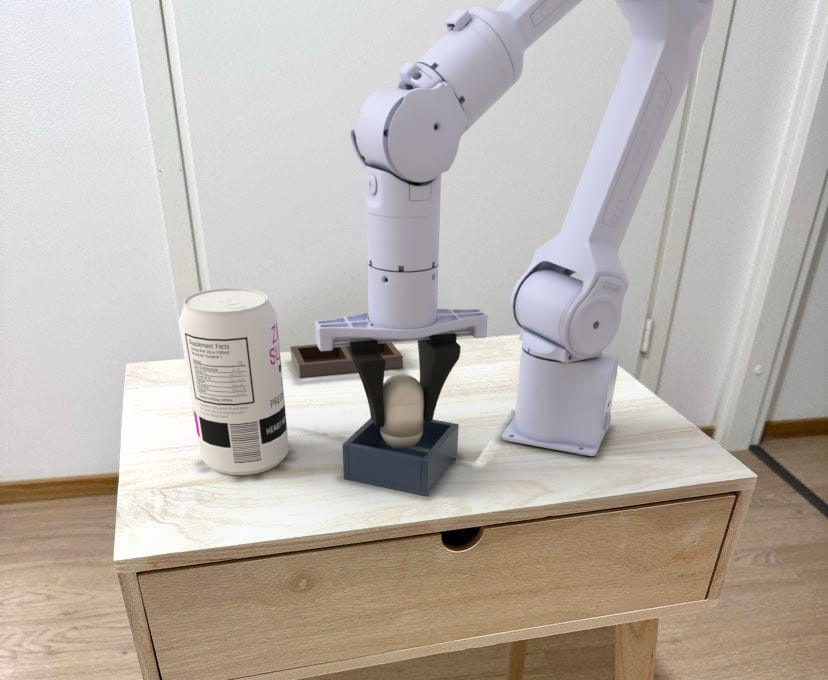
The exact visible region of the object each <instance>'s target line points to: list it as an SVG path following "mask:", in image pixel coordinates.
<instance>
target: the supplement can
mask: <svg viewBox="0 0 828 680" xmlns="http://www.w3.org/2000/svg"><path fill="white" fill-rule="evenodd" d="M182 302H183V308H182V311H181V313H180V317H179V319H178V327H179V332H180V338H181V344H182V349H183V357H184V363H185V369H186V375H187V382H188V387H189V392H190V399H191V404H192V411H193V418H194V424H195V428H196V435H197V441H198V447H199V452H200V453H199V454H200V458H201V459H202V460H203V463H204V464H206V465H208V466H210V467H211V469H213V470H214V471H217V472H218V473H220V474H221V473H222V474H226V475H230V476H249V475H250V476H251V475H256V474H260V473H263V472H267V471H270V470H271V469H273V468H275V467H277V466H279V465H280V463H281V462H282V461H283V460H284V459H285V457H286V456H287V455H288V454H289V436H288V434H289V433H288V425H287V411H286V404H285V403H286V401H285V392H284V390H285V389H284V381H283V379H284V378H283V369H282V359H281V358H282V357H281V347H280V337H279V336H280V335H279V326H278V325H279V324H278V315H277V312H276V310H275V308H274V307H273V305H272V303H271V302H270V301H269V296H268V295H267V294H265V292H262V291H260V290H256V289H251V288H245V287H222V288H221V287H220V288H219V287H218V288H213V289H212V288H211V289H205V290H200V291H198V292H195V293H191V294H190V295H188V296H187V297H185V298H184V300H183V301H182Z"/></svg>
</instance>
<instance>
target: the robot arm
mask: <svg viewBox="0 0 828 680" xmlns="http://www.w3.org/2000/svg"><path fill="white" fill-rule="evenodd" d="M582 1H583V0H503V1H502V2H501V3H500V4H499V5H498V6H497V7H496V9H493V8H489V7H486V6H481V5H479V6H474V7H472V8H470V9H469V10H467V9H461V10H460V9H459V10H458V9H457V10H455V11H454V12H453V13H452V14H451V15H450V16H449V17H448V18H447V19H446V20H445V27H446V28H447V32H446V33H444V35H443V36H441V38H440V39H438V41H436V42H435V44H434V45H432V46H431V47H430V48H429V50H428V51H426V53H424V54H423V55H422V56H421V57H420V58H419V59H418V60H417V61H416V62H407V61H406V63H405V64H404V65H403V66H402V67H401V68H400V69H399V70H398V75H399V77H400V78H399V80H398V84H397V87H392V86H391V87H390V86H388V87H386V88H385V87H383V88H379V89H378V90H375V91H374V92H373V93H371V94H370V95H369V96H368V97H366V99H365V100H364V102H363V103H362V105H361V107H360V108H359V111H358V113H359V116H358V117H356V121H355V128H354V129H351V130H350V132H349V134H350V142H351V146H352V149H353V151H354V154H355V156H356V157H357V159H358V161H360V163H361V164H362V166H363V167H364V171H365V172H364V173H365V193H366V195H365V196H366V198H365V200H366V201H365V208H366V209H365V211H366V214H365V215H366V261H367V304H368V305H367V307H368V308H367V309H368V311H367V312H362V313H357V314H351V315H347V316H341V317H336V318H332V319H324V320H322V319H321V320H315V321H314V328H315V344H317V346H318V348H319V349H320V351H330V350H333V347H344V346H346V348H347V350H348V352H349V354H350V356H351V358H352V360H353V362H354V364H355V366H356V369H357V371H358V373H357V374H358V375H359V378H360V381H361V384H362V386H363V389H364V392H365V396H366V399H367V403H368V407H369V408H368V409H369V413H370V418H371V419H372V421H373V423H374V425H375V426H376V427H383V426H384V404H383V383H384V382H385V381H384V379H385V371H386V370H385V364H386V361H385V360H384V358H383V357H382V356H381V348H379V347H378V344H380V343H403V342H415V341H417V349H418V361H419V364H418V365H419V383H420V384H421V386H422V388H423V391H424V420H425V422H428V421H432V420H434V415H435V412H436V408H437V405H438V402H439V398H440V395H441V393H442V390H443V387H444V385H445V383H446V381H447V379H448V377H449V375H450V373H451V372H452V370H453V368H454V366H455V365H456V364H457V363H458V361H459V360H460V357H461V348H462V347H461V345H460V344H459V343H458V342H457V338H463V337H473V338H474V339H483V338H487V332H488V331H487V330H488V319H489V318H488V317H489V315H488V314H486V313H485V312H484V311H483V309H480V308H467V309H465V308H463V309H461V308H459V309H458V308H438V297H439V296H438V294H439V293H438V291H439V257H440V255H439V254H440V227H441V225H440V223H441V221H440V220H441V192H442V191H441V190H442V174H444V173H446V172H448V171H449V170H450V169H451V167H452V165H453V164H454V162H455V159H456V157H457V154H458V152H459V146H460V141H461V138H462V137H463V135H464V134H465V133H466V132H467V131H468V130H469V129H470V128H471V127H472V126H473V125H474V124H475V123H477V121H478V120H479V119H480V118H481V117H483V115H484V114H485V113H486V112H488V110H490V108H491V107H493V105H494V104H496V103H497V102H498V101H499V100H500V99H501V98H502V97H503V96H504V95H505V94H506V93H507V92H508V91H509V90H510V89H511V88H512V87H513V86H514V85H515V84H516V83H517V82H518V81H519V80H520V79H521V76H522V73H523V69H524V57H525V51H526V50H528V49H529V48H530V47H531V46H532V45H533V44H534V43H535V42H536V41H538V40H539V39H540V38H541V37H542V36H544V34H546V33H547V32H548V31H549V30H550V29H551V28H553V27H554V26H555V25H556V24H557V23H558V22H560V21H561V20H562V19H563V18H564V17H566V16H567V14H568V13H570V12H571V11H572V10H573V9H574V8H576V6H578V5H579V4H580V3H581V2H582ZM614 1H615V4H616V5H617V7H618V8H619V10H620V11H621V13H622V15H623V17H624V18H625V20H627V22H628V24H629V27H630V30H631V34H632V42H631V44H630V47H629V50H628V53H627V55H626V58H625V60H624V63H623V66H622V69H621V71H620V74H619V76H618V79H617V82H616V84H615V88H614V90H613V92H612V95H611V97H610V100H609V103H608V106H607V109H606V111H605V113H604V116H603V118H602V121H601V124H600V127H599V129H598V131H597V134H596V136H595V140H594V143H593V145H592V148H591V150H590V152H589V156H588V158H587V161H586V163H585V166H584V169H583V172H582V174H581V177H580V180H579V182H578V184H577V187H576V190H575V193H574V195H573V198H572V201H571V203H570V205H569V208H568V210H567V211H568V212H567V214H566V216H565V219H564V222H563V224H562V227H561V230H560V232H559V233H557V234H556V236H554V237H552V238H551V239H549V240H547V241H546V242H545V243H544V244H542V245H541V246H539V247H538V248H536V250H535V252H534V255H533V258H532V260H531V262H530V264H529V266H528V268H527V269H526V271H525V272H524V273H523V274H522V275H521V276H520V277H519V278H518V279H517V282H516V283H515V284H514V287H513V289H512V292H511V295H510V301H509V312H510V316H511V319H512V321H513V322H514V324H515V325H516V326H517V327H518V328H519V336H518V339H519V341H521V350H520V360H519V369H518V382H517V391H516V402H515V411H514V417H513V418H512V420H511V421H510V422H509V424H508V426H507V427H506V428H505V430H504V431H503V433H502V434H501V439H502V440H503V441H506V442H511V443H517V444H523V445H527V446H533V447H539V448H545V449H550V450H555V451H560V452H567V453H572V454H577V455H583V456H588V457H594V456H596V455H597V454H598V451H599V449H600V446H601V444H602V443H603V440H604V437H605V435H606V433H607V431H608V430H609V428H610V423H611V420H612V412H611V411H612V404H613V399H614V393H615V388H616V387H615V386H616V382H617V375H618V369H619V357H618V356H616V355H613V354H609V353H606V352H604V350H606V348H607V347H609V345H610V344H611V343H612V341H613V340H614V338H615V336H616V335H617V332H618V330H619V328H620V324H621V320H622V310H623V309H622V308H623V307H622V306H623V302H624V298H625V296H626V292H627V291H628V288H629V285H630V282H629V281H630V280H629V278H628V276H627V273H626V270H625V269H624V267H623V265H622V262H621V260H620V257H619V254H618V252H619V250H620V248H621V246H622V243H623V241H624V238H625V236H626V234H627V230H628V228H629V226H630V223H631V221H632V218H633V216H634V214H635V211H636V209H637V206H638V204H639V202H640V200H641V197H642V194H643V191H644V189H645V186H646V184H647V182H648V179H649V177H650V175H651V172H652V169H653V168H654V165H655V163H656V160H657V158H658V155H659V154H660V150H661V148H662V145H663V143H664V140H665V138H666V137H667V134H668V131H669V129H670V127H671V124H672V121H673V119H674V117H675V115H676V113H677V112H676V111H677V110H678V107H679V105H680V102H681V99H682V97H683V95H684V92H685V90H686V87H687V85H688V82H689V80H690V78H691V75H692V73H693V70H694V68H695V66H696V63H697V60H698V59H699V56H700V53H701V51H702V49H703V46H704V44H705V41H706V38H707V35H708V33H709V29H710V26H711V19H712V15H713V11H714V5H715V0H614ZM574 274H578V275H579V276H580V277H581V279H582V280H581V279H579V278H576V277H574V276H572V275H574Z"/></svg>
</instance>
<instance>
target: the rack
mask: <svg viewBox="0 0 828 680" xmlns="http://www.w3.org/2000/svg"><path fill="white" fill-rule="evenodd" d="M378 347H379V348H381V356H382V357H383V358H384V360H385V361H386V364H385V371H393V370H394V371H395V370H402V369H403V367H404V365H403V364H404V361H403V360H404V358H403V357H404V356H403V355H402V354H401V353H402V352H400V351H399V350H398V348H397V347H396V346H395V345H394V342H392V343H380V344H378ZM290 358H291V361H292V363H293V366H294V368H295V370H296V373H297V375H298V377H299V379H307V378H319V377H328V376H339V375H349V374H359V373H358V371H357V369H356V366H355V364H354V362H353V360H352V358H351V356H350V354H349V352H348V350H347V348H346V346H344V347H333V350H330V351H320V349H319V348H318V346H317V344H316V343H314V344H305V345H294V346H293V345H292V346H290Z"/></svg>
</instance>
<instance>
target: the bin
mask: <svg viewBox="0 0 828 680" xmlns="http://www.w3.org/2000/svg"><path fill="white" fill-rule="evenodd" d="M459 427H460V424H459V423H454V422H450V421H445V420H438V419H433V420H432V421H428V422H425V420H424V429H423V434H422V437H421V439H420V440H419V442H418V443H417V444H416V445H415V446H413V447H414V448H419V449H423V450H428V452H426V451H422V450H421V451H419V450H415V449H411V448H409V449H405V450H398V449H394V448H392V447H390V446H389V445H388V444H384V443H382V442H385V441H384V440H383V438H382V436H381V433H380V427H376V426H375V425H374V423H373V421H372V419H371V417H370V418H369V419H368V420H366V422H365V423H364V424H362V426H361V427H360V428H358V429H357V430H356V431H355V432H354V433H353V434H352V435H351V436H350V437H348V438H347V439H346V440H345V441H344V442H343V443H342V444H341V445H342V448H341V449H342V469H343V480H348V481H354V482H358V483H363V484H368V485H371V486H372V485H373V486H376V487H381V488H386V489H391V490H394V491H400V492H403V493H404V492H405V493H409V494H414V495H419V496H423V497H428V496H429V494H430V493H431V492H432V491H433V489H434V488H435V487H436V485H437V484H438V483H439V481H440V480H441V479H442V477H443V476H444V475H445V474H446V472H447V471H448V469H449V468H450V467H451V465H452V464H453V463H454V462H455V460H456V459H457V458H456V457H455V456H456V455H457V453H458V449H459V447H458V445H459ZM413 447H412V448H413Z"/></svg>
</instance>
